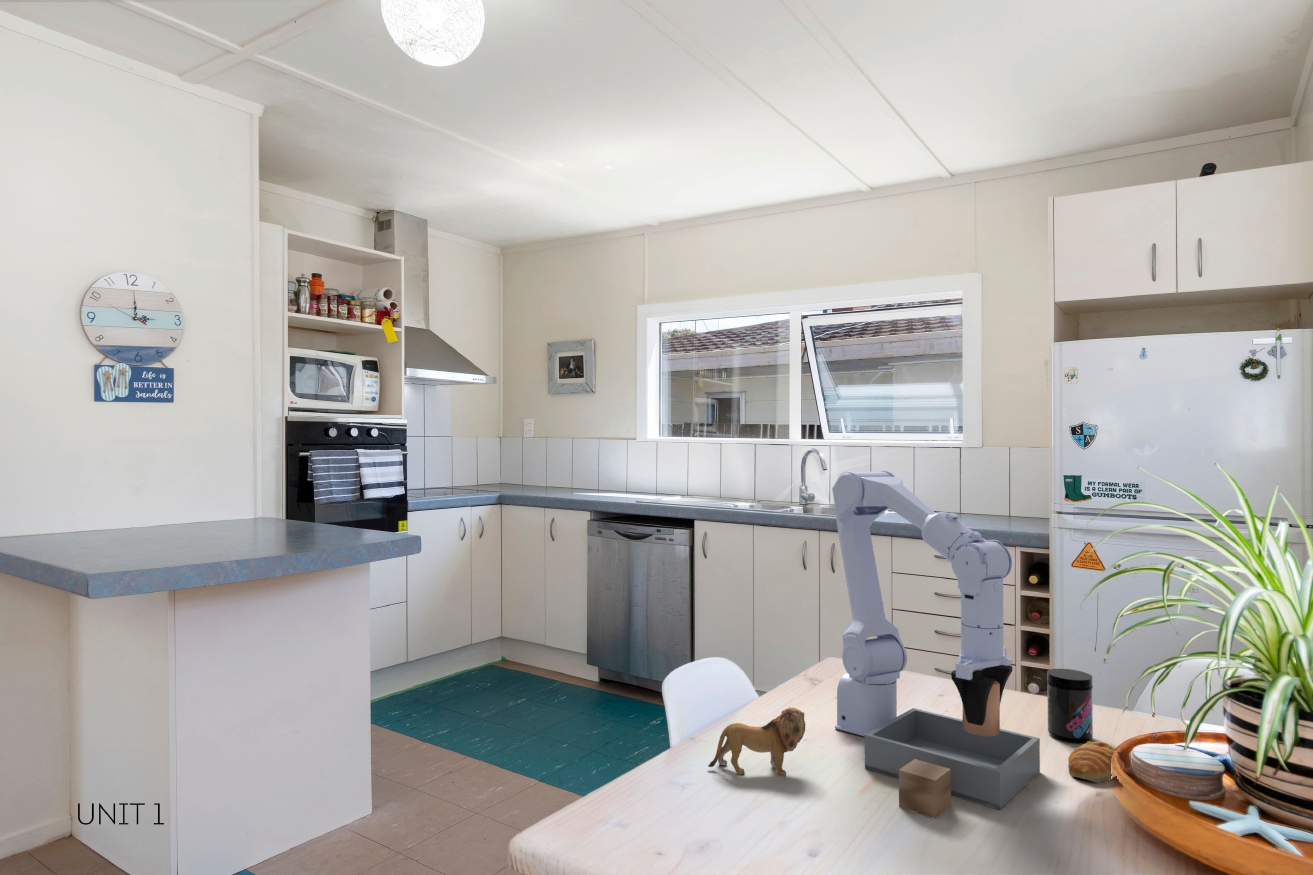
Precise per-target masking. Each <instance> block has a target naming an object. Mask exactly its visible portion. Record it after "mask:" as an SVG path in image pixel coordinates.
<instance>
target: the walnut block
mask: <svg viewBox="0 0 1313 875" xmlns="http://www.w3.org/2000/svg"><path fill="white" fill-rule="evenodd" d="M898 807H899V808H901V809H904V810H907V811H910V812H913V813H916V814H920V815H923V816H925V817H929V818H931V819H934V820H936V819H937V818H939V817H940V816H941V815H942V814H943V813H944V812H946V811H947V810H948V809H949V808H951V807H952V795H951V769H949V768H946V767H942V766H938V765H935V764H931V763H928V762H924V761H921V760H917V759H914V760H913V761H911V762H910V763H908V764H907V765H905V766H904V767H902V768H901V769H899V779H898Z"/></svg>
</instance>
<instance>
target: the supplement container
mask: <svg viewBox="0 0 1313 875" xmlns="http://www.w3.org/2000/svg"><path fill="white" fill-rule="evenodd" d="M1046 682H1047V692H1046V693H1047V694H1046V695H1047V696H1046V697H1047V731H1048V733H1049V735H1050V736H1051V737H1052V738H1054V739H1055V740H1059V741H1062V742H1066V743H1070V744H1086V743H1087V742H1088V741H1089V742H1091V741H1092V739H1093V737H1094V736H1093V735H1094V733H1093V730H1094V727H1093V725H1094V724H1093V723H1094V721H1093V713H1094V712H1093V711H1094V710H1093V708H1094V707H1093V706H1094V705H1093V702H1094V701H1093V687H1094V685H1093V683H1094V682H1093V675H1092V674H1090V673H1087V672H1084V671H1081V670H1077V669H1070V668H1051V669H1048V670H1046Z"/></svg>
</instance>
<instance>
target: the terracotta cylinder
mask: <svg viewBox="0 0 1313 875" xmlns="http://www.w3.org/2000/svg"><path fill="white" fill-rule="evenodd" d="M961 703H962V702H961ZM1000 706H1001V702H1000V683H999V682H998V681H996V680H995V682H994V683H993V685H992V688H991V690H990V693H989V696H988V701H987V708H986V716H985V721H984V724H983V725H982V726H980V725H976V724H972V723H968V722H967V719H966V716H965V712H964V707H963V703H962V708H961V709H962V720H963V730H964V731H966V732H968V733H970V734H974V735H978V736H988V737H989V736H997V735H999V734H1000V729H1001V720H1000V719H1001V718H1000V716H1001V707H1000Z"/></svg>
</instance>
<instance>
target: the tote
mask: <svg viewBox="0 0 1313 875" xmlns="http://www.w3.org/2000/svg"><path fill="white" fill-rule="evenodd" d="M1040 745H1041V744H1040V738H1039V737H1036V736H1031V735H1027V734H1024V733H1020V732H1016V731H1011V730H1007V729H1003V728H1000V734H999V735H997V736H989V737H988V736H978V735H974V734H970V733H968V732H966V731H964V730H963V719H962V718H956V717H951V716H948V715H943V714H939V713H935V712H932V711H928V710H922V709H919V708H916V707H915V708H914V707H913V708H911V709H909V710H907V711H905V712H903V713H901V714H900V715H897V717H896V718H894V719H892V720H890V721H889V722H887V723H885V724H883V725H881V726H880V727H878V728H876V729H874V730H872V731H871V732H869V733H867V734H865V737H864V769H866V770H868V771H873V772H875V773H878V774H881V775H885V776H887V777H891V778H894V779H897V780H899V769H901V768H902V767H904V766H905V765H907V764H908V763H910V762H911V761H913V760H914V759H917V760H921V761H924V762H928V763H931V764H935V765H938V766H942V767H946V768H949V769H951V796H953V797H956V798H958V799H963V800H966V801H969V802H973V803H975V804H978V805H982V806H986V807H989V808H993V809H996V810H999V811H1001V810H1002V809H1004V808H1005V807H1006V805H1007V804H1009V802H1010V801H1012V799H1013V798H1015V797H1016V796H1017V795H1018V794H1019V793H1020V792H1021V791H1022V790H1023V789H1024V788H1025V787H1026V786H1028V785H1029V783H1030V782H1031V781H1032V780H1033V779H1034V778H1035V777H1037V775H1038V774H1040V772H1041V765H1040V764H1041V763H1040V762H1041V746H1040Z"/></svg>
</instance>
